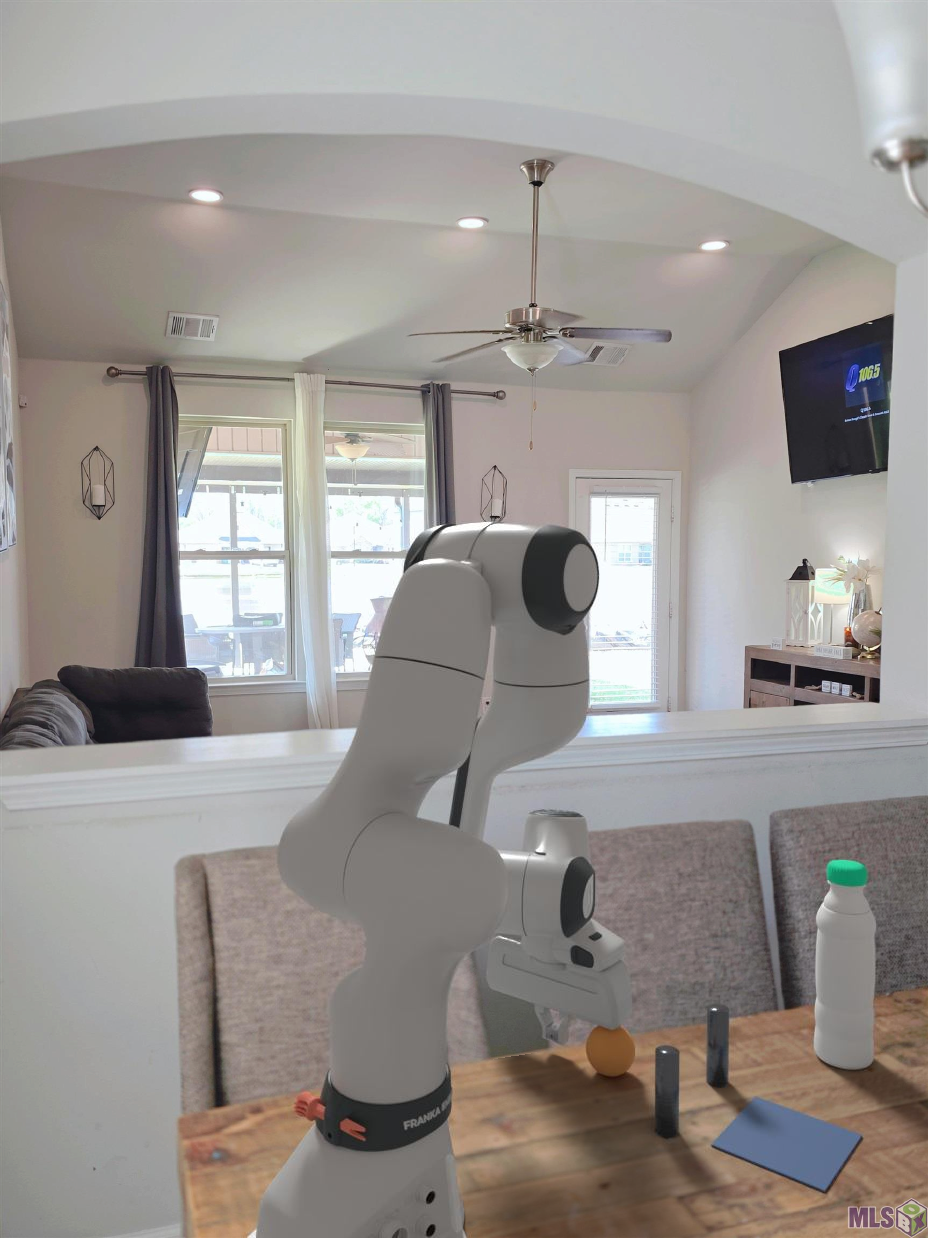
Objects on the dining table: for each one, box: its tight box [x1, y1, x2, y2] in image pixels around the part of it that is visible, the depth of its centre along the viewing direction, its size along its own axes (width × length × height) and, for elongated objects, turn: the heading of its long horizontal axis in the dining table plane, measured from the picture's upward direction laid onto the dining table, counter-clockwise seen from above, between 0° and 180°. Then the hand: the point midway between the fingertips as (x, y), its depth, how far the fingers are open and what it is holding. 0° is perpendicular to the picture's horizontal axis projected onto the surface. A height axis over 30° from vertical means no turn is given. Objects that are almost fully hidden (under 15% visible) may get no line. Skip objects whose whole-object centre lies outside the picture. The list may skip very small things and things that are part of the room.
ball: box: [585, 1025, 636, 1077], centre depth 116 cm, size 6×6×6 cm
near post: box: [654, 1044, 681, 1139], centre depth 104 cm, size 3×3×9 cm
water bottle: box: [813, 859, 877, 1071], centre depth 119 cm, size 7×7×25 cm
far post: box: [705, 1003, 730, 1088], centre depth 114 cm, size 3×3×9 cm
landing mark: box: [711, 1096, 863, 1193], centre depth 102 cm, size 12×12×1 cm
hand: (555, 1040), depth 121 cm, fingers closed
